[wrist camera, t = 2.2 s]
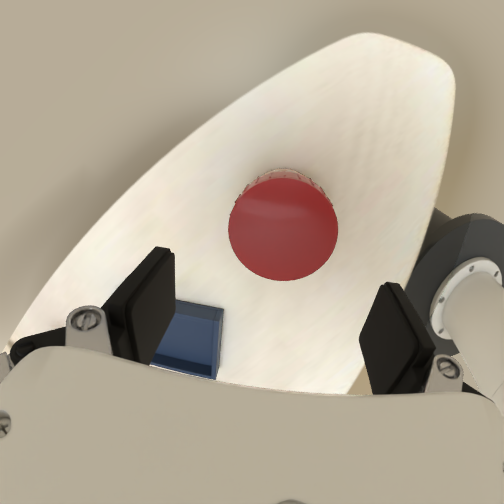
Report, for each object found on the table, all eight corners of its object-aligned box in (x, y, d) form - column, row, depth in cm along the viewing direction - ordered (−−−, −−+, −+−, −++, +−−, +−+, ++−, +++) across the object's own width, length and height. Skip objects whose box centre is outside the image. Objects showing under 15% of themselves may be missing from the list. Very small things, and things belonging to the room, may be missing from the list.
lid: (341, 180, 18) (350, 188, 16) (320, 269, 21) (324, 288, 19) (240, 163, 19) (233, 169, 16) (230, 255, 22) (223, 272, 19)
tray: (223, 308, 31) (219, 321, 28) (218, 367, 35) (215, 380, 33) (119, 286, 31) (110, 296, 29) (129, 345, 35) (123, 356, 33)
